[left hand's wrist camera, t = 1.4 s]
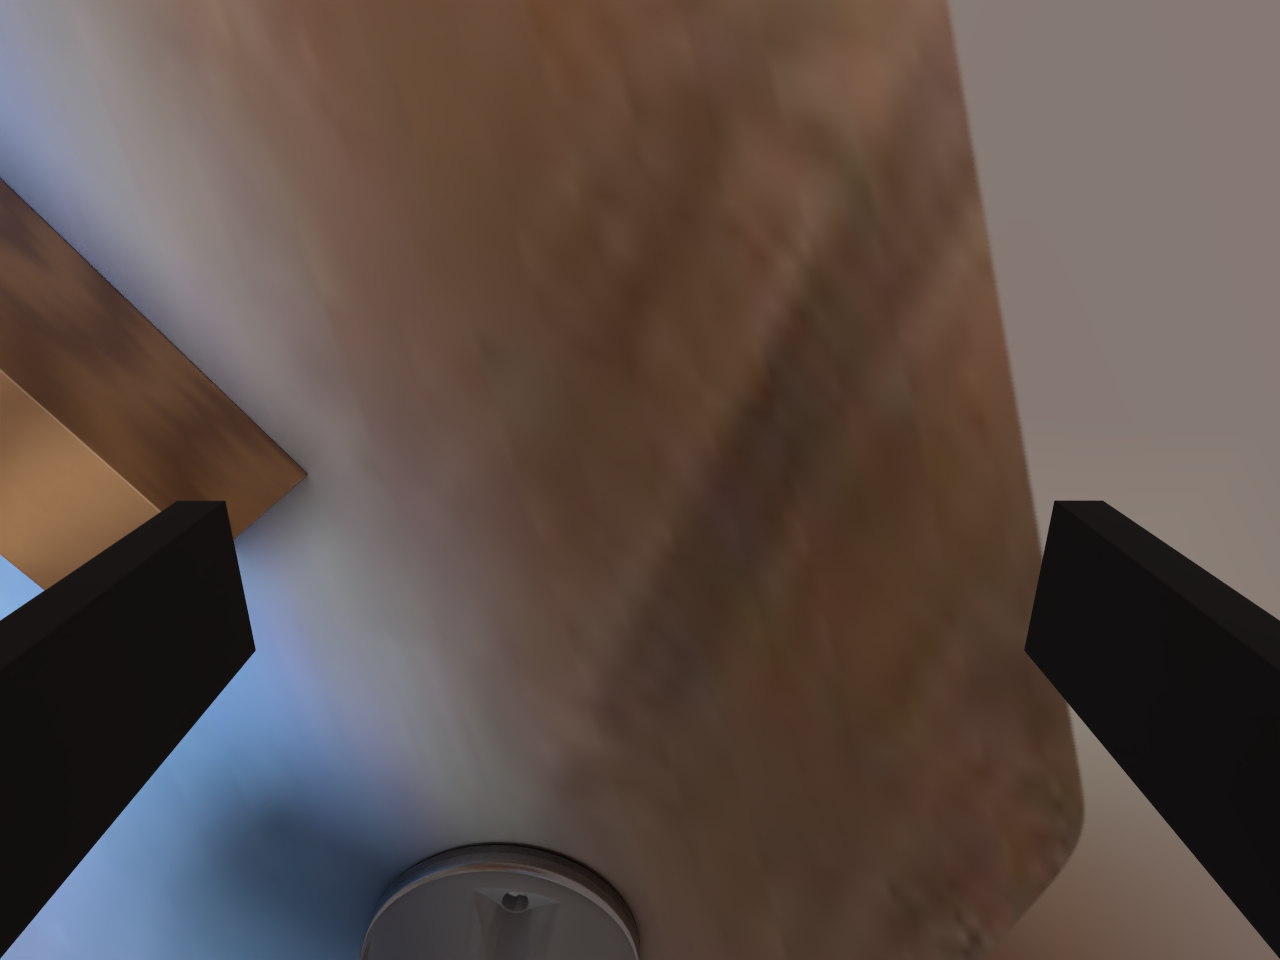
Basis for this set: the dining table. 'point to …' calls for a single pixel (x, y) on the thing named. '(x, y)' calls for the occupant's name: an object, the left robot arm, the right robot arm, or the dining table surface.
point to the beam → (105, 414)
